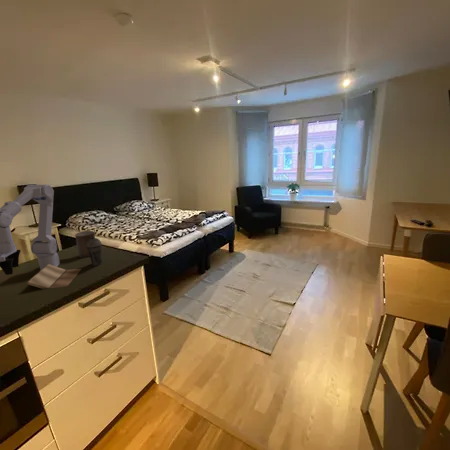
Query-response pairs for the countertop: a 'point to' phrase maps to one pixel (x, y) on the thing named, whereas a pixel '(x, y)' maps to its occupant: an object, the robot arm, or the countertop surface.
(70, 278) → the laid board
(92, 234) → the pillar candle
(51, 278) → the plank
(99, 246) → the beverage cup
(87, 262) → the countertop surface
